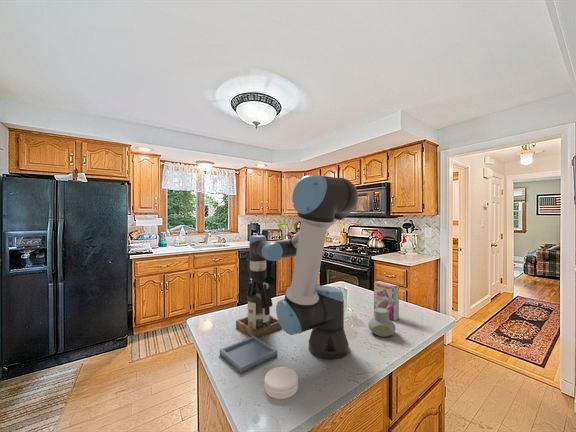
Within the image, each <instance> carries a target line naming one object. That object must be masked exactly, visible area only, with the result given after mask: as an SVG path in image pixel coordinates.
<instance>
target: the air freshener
mask: <svg viewBox="0 0 576 432" xmlns="http://www.w3.org/2000/svg"><path fill="white" fill-rule="evenodd" d="M373 314H374V315H373V318H371V319H370V320H369V321H368V328H369V331H371V332H372V333H373V334H375V335H377V336H379V337H381V338H385V337H390V336H392V335H393V334H394V333H395V332H396V324H395V323H394V321H392V320H389V311H388V310H387V309H385V308H376V309H374V308H373Z"/></svg>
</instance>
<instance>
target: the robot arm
mask: <svg viewBox="0 0 576 432" xmlns="http://www.w3.org/2000/svg"><path fill="white" fill-rule="evenodd" d="M358 199H359V193H358V189H357V188H356V186H355V184H353V182H352V181H350V180H349V179H348V178H344V177H336V176H335V177H334V176H327V175H320V174H319V175H318V174H316V175H315V174H310V175H308V174H307V175H305V176H303V177H302V178H301V179H300V180H298V181H297V183H296V184H295V186H294V188H293V192H292V197H291V200H292V203H293V204H292V206H293V208H294V210H295V211H296V212H297V218H298V219H299V220H300V228H299V230H298V231H297V232H296V233H295V234H294V235H293V236H292V237H291V238H290V239H287V240H286V239H285V240H283V239H282V240H274V241H273V240H271V241H267V237H266V235H257V234H256V235H251V236H250V237H249V244H248V245H249V269H250V270H249V278H248V280H247V288H246V289H247V290H246V293H245V294H246V295H245V298H246V299H247V297H248V296H249V295H255V294H257V292H258V293H260V296H261V299H262V300H263V305H264V307H263V323H265V322H268V321H269V307H270V308H271V307H273V299H272V294H271V290H270V286H271V285H270V283H266V278H267V273H268V272H267V261H270V262H271V261H272V262H274V261H275V262H277V261H278V260H280V259H284V258H294V266H293V270H292V271H293V273H292V279H291V284H290V287H287V288H286V290H285V295H284V299H280V300H279V301H277V303H276V307H275V313H276V317H277V319H278V321H279V323H280V325H281V327H282V328H281V329H282V330H283V332H285V333H286V334H288V335H290V336H294V335H297V334H302V333H304V332H307V331H310V330H311V332H310V336H309V339H308V351H310V353H311V354H312V355H313V356H316V357H317V358H321V359H325V360H339V359H343V358H344V357H345V356H347V355H348V354H349V351H350V347H349V345H350V343H349V341H348V339H347V335H346V332H345V327H344V326H345V325H344V323H345V321H344V320H345V318H344V314H345V313H344V306H345V305H344V303H345V300H344V293H343V291H342V290H341V289H339V288H336V287H334V286H327V285H318V281H319V277H320V270H321V265H322V259H323V254H324V247H325V243H326V237H327V232H328V231H327V230H328V229H330V228H331V226H333V225H334V224H335V223H336V222H338V221H342V220H344V219H345V218H347V216H349V215H350V213H352V211H354V209H355V208H356V206H357V203H358V201H359V200H358Z"/></svg>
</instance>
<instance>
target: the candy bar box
mask: <svg viewBox="0 0 576 432" xmlns="http://www.w3.org/2000/svg"><path fill="white" fill-rule="evenodd" d="M399 289H400V287H399V285H396V284H393V283H389V282H386V281H381V280H378V281H374V282H373V310H374V309H376V308H385V309H387V310H388V311H389V320H391V321H392V322H395V321H397V320H399V319H400V299H399V298H400V295H399V294H400V292H399V291H400V290H399Z"/></svg>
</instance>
